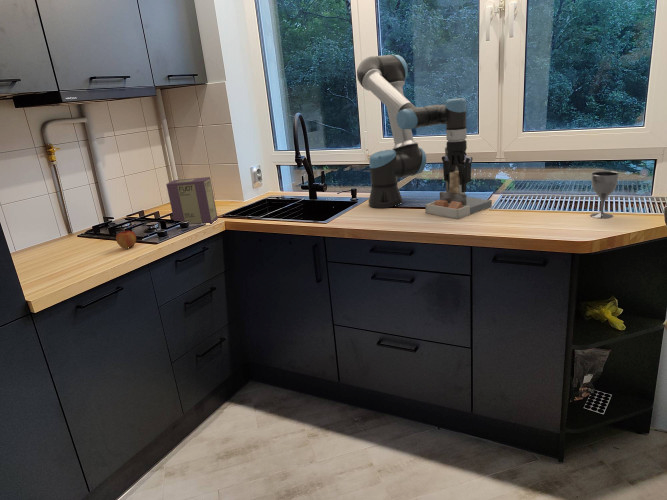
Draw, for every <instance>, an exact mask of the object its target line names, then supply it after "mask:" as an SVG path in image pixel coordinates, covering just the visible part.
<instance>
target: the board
mask: <svg viewBox="0 0 667 500" xmlns="http://www.w3.org/2000/svg"><path fill="white" fill-rule="evenodd" d="M466 201H467V205H463V207H465V206H468V205H469V206H470V215H472V214H475V213H478V212H481V211H483V210H486V209H489V208H491V207H493V206H492V200H491V199H485V198H476V197H471V196H470V197H469V196H466ZM449 204H450V203H448V206H449Z"/></svg>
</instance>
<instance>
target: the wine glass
mask: <svg viewBox="0 0 667 500" xmlns="http://www.w3.org/2000/svg"><path fill="white" fill-rule="evenodd" d="M619 175H620V174H619V172H617V171H613V170H608V171H607V170H602V171H601V170H599V171H593V172H591V186H592V187H591V188H592V190H593V192H594V193H595V194H596V195H597V196H598V198H599V199H600V211H599V212H595V213H591V214H590V215H589V216H590V217H591V218H593V219H594V218H595V219H601V220H602V219H611V218H613V217H614V214H612V213H608V212H606V213H605V212H604V208H605V207H604V206H605V202H606V200H607V198H608V197H609V196H610V195H611V194H612V193H613V192H614V191H615V190H616V188H617V185H618V181H619Z"/></svg>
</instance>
